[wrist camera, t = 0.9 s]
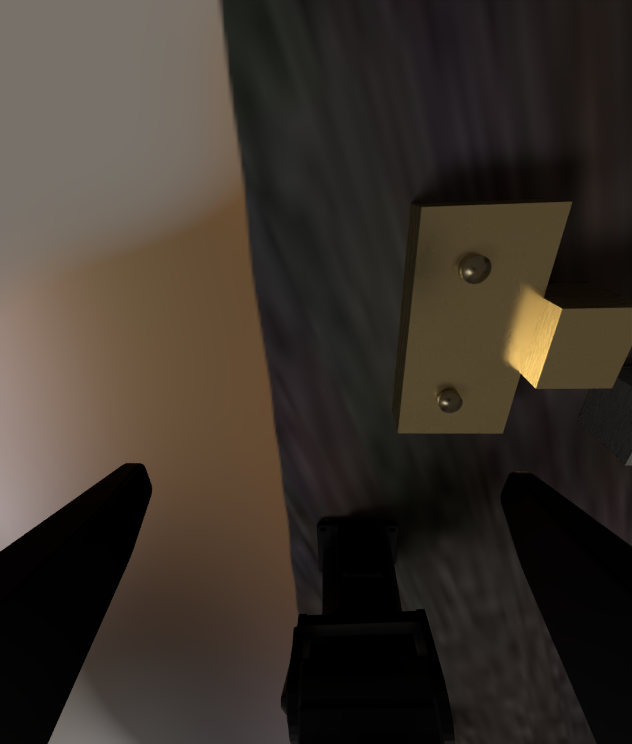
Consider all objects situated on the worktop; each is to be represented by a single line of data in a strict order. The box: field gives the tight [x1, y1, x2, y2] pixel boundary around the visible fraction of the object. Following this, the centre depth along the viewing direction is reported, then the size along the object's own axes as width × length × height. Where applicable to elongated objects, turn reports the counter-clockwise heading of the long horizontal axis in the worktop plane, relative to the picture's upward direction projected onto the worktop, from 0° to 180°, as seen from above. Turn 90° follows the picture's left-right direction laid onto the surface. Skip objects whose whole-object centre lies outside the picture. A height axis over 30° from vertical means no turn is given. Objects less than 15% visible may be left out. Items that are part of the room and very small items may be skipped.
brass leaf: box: [392, 199, 632, 433], centre depth 17 cm, size 12×10×4 cm
